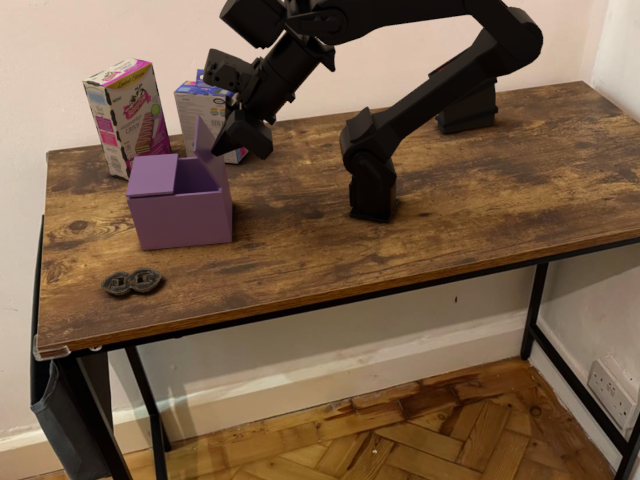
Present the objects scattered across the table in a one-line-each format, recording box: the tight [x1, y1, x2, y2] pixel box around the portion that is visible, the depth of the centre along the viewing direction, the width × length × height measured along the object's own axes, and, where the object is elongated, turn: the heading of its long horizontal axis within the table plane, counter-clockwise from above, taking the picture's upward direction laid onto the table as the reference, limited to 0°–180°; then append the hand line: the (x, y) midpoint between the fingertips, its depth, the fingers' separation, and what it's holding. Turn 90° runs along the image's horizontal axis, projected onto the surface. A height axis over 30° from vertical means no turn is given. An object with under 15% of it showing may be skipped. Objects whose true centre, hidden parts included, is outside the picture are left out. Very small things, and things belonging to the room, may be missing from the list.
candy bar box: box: [81, 57, 173, 182], centre depth 110 cm, size 11×5×16 cm, turn 155°
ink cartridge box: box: [173, 68, 250, 165], centre depth 113 cm, size 10×6×14 cm, turn 78°
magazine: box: [427, 45, 499, 134], centre depth 122 cm, size 4×13×15 cm, turn 111°
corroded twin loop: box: [100, 267, 163, 296], centre depth 91 cm, size 5×8×1 cm, turn 105°
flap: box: [193, 115, 223, 188], centre depth 94 cm, size 6×11×1 cm
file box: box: [125, 153, 233, 251], centre depth 99 cm, size 13×11×9 cm
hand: (213, 153), depth 95 cm, fingers closed, pressing on flap
